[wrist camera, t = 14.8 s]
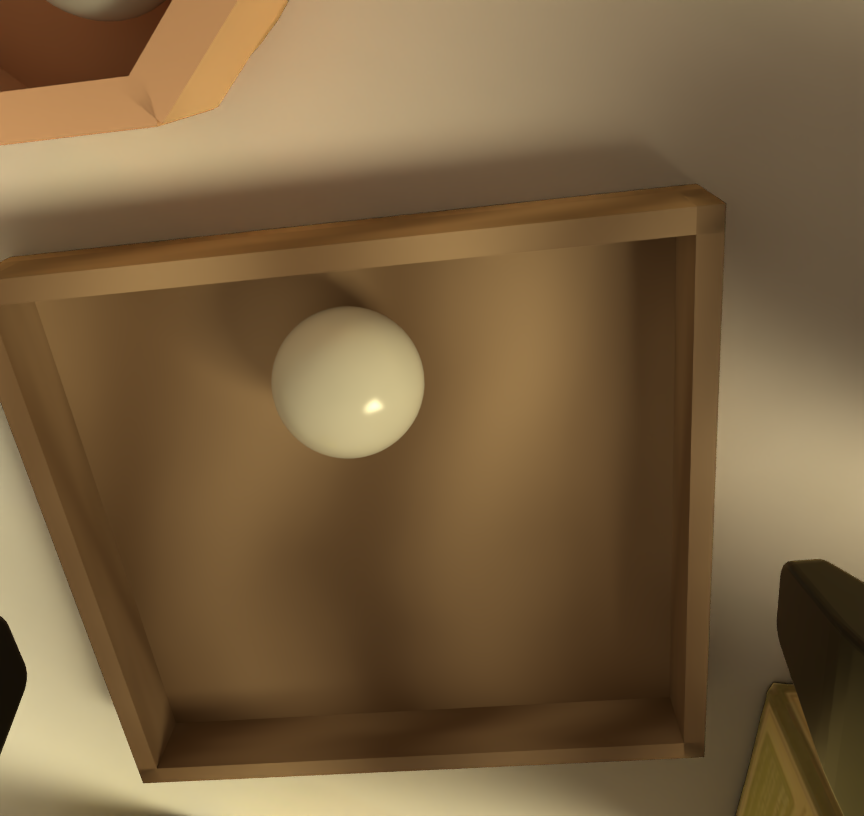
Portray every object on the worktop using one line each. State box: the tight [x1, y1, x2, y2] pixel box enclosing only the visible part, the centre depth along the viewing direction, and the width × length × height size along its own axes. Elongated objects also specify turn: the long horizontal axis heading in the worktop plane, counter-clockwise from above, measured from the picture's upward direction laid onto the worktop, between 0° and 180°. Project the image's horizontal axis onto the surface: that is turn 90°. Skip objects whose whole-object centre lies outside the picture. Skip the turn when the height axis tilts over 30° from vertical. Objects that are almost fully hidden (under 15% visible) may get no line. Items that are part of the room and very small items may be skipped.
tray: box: [0, 184, 726, 783], centre depth 22 cm, size 17×16×2 cm
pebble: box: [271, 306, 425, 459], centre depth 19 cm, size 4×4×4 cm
